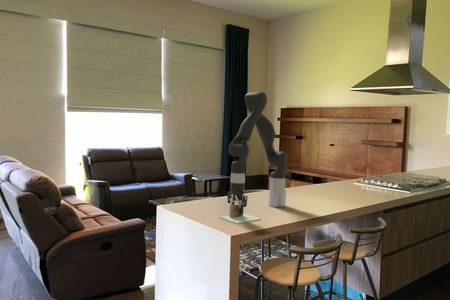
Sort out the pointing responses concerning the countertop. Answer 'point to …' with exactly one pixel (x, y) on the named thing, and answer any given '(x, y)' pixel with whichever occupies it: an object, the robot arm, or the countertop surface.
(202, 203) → the countertop surface
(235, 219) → the mat
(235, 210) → the brown wooden block
